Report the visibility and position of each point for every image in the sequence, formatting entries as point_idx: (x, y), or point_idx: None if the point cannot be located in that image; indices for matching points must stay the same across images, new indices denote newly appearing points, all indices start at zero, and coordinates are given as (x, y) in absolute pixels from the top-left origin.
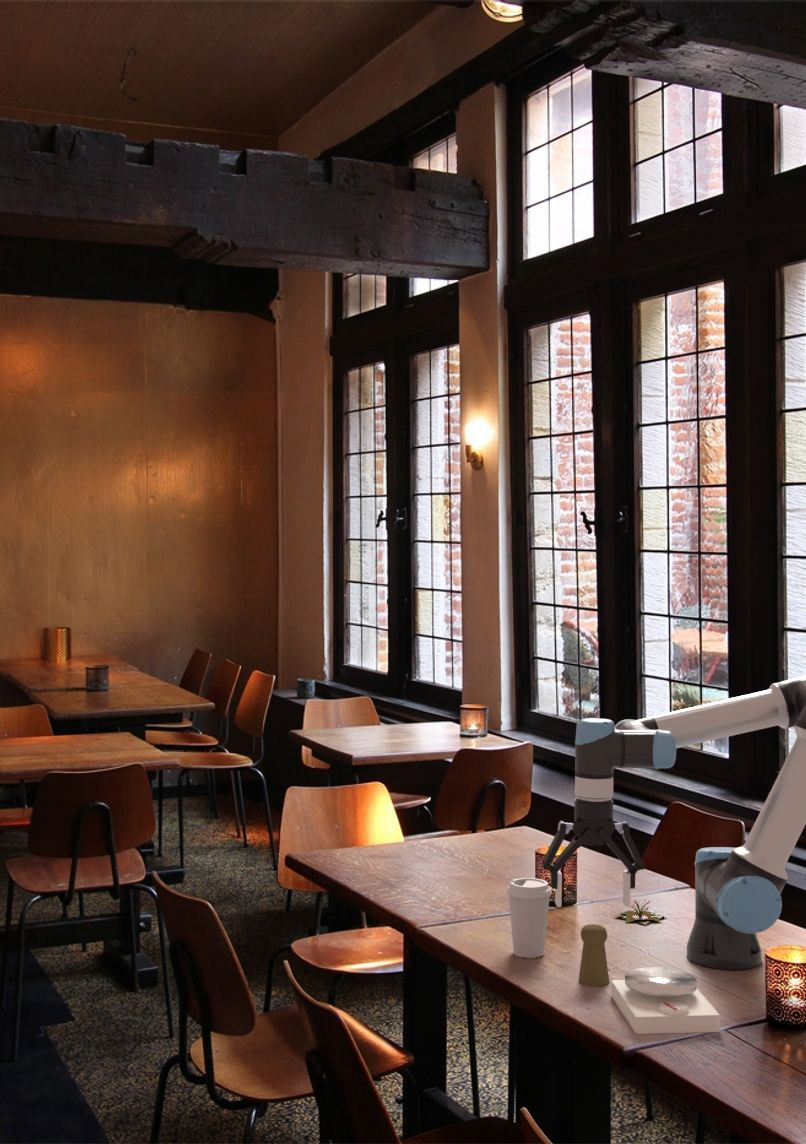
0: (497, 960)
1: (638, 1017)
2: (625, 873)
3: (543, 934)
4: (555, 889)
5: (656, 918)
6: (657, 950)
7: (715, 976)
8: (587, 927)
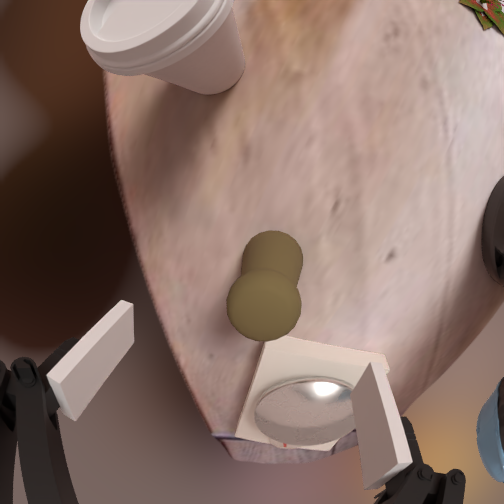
0: (140, 98)
1: (237, 436)
2: (374, 479)
3: (221, 76)
4: (93, 330)
5: (501, 23)
6: (468, 140)
7: (466, 296)
8: (238, 319)
